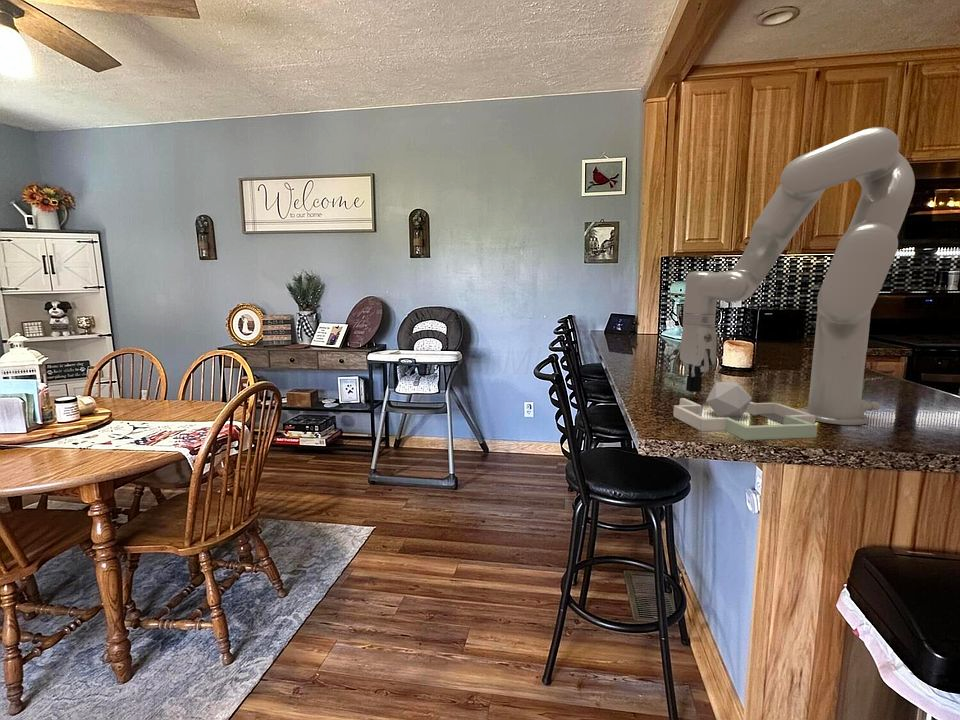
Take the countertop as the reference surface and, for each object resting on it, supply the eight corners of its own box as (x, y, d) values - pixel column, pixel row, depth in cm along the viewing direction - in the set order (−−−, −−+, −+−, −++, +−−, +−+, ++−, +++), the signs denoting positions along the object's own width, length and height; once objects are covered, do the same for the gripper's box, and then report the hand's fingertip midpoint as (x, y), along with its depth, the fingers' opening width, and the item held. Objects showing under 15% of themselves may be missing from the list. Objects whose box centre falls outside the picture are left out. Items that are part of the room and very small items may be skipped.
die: (746, 425, 109) (764, 388, 111) (711, 405, 110) (729, 369, 111) (727, 428, 117) (744, 394, 119) (694, 409, 118) (712, 375, 119)
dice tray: (756, 405, 124) (757, 396, 123) (840, 436, 98) (841, 424, 98) (659, 408, 121) (659, 398, 121) (719, 441, 96) (720, 428, 96)
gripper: (730, 323, 119) (723, 397, 122) (697, 318, 134) (692, 385, 136) (700, 323, 118) (694, 398, 121) (670, 318, 133) (666, 385, 136)
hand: (693, 391), depth 129 cm, fingers closed
